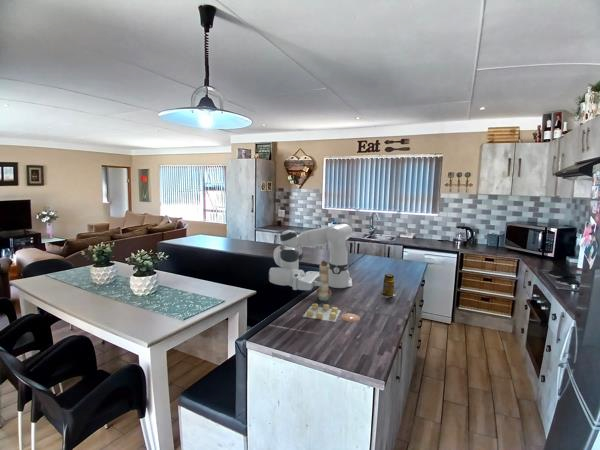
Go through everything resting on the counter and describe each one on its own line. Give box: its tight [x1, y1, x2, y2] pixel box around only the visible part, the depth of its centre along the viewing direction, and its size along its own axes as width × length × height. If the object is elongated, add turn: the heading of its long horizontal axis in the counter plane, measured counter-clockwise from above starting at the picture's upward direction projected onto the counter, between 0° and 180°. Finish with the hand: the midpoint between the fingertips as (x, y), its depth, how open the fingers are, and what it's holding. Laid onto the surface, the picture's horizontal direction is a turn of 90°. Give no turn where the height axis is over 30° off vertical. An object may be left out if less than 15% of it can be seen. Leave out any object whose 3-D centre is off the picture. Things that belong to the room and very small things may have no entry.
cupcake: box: [315, 287, 332, 302], centre depth 174 cm, size 9×8×12 cm
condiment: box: [377, 273, 397, 299], centre depth 185 cm, size 7×8×12 cm
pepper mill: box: [318, 259, 329, 299], centre depth 153 cm, size 5×5×19 cm
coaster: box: [340, 312, 361, 323], centre depth 152 cm, size 9×9×1 cm
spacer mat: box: [302, 303, 341, 323], centre depth 156 cm, size 14×16×3 cm
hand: (325, 281), depth 153 cm, fingers closed on pepper mill, 5 cm apart
